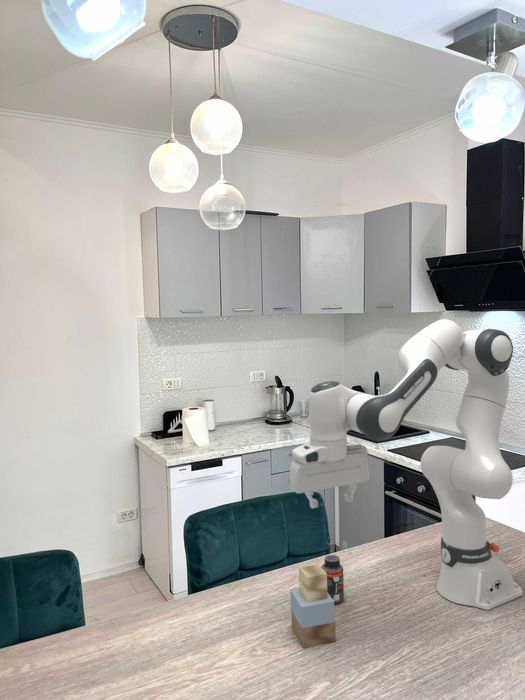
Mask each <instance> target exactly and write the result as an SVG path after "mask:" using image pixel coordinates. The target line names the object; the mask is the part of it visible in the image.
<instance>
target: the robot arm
mask: <svg viewBox="0 0 525 700" xmlns="http://www.w3.org/2000/svg"><path fill="white" fill-rule="evenodd" d="M513 353H514V344H513V342H512V339H511V336H509V334H508V333H506V332H505V331H504V330H501V329H500V330H499V329H495V328H487V329H469V330H466V331H463V330H462V328H461V326H459V325H458V323H456V322H455V321H453V320H451V319H447V318H445V319H439V320H436V321H434V322H432V323H430V324H429V325H427V326H426V327H424V328H423V329H421V330H420V331H418V332H417V333H416V334H414V335H413V336H412V337H410V339H408V340H407V341H406V342H405V343H404V344H403V345H402V346H401V348H400V349H399V351H398V356H397V360H398V365H399V367H400V369H401V371H402V372H403V374H404V377H402V379H401V380H400V381H399V382H398V383H397V384H396V385H395V386H394V387H393V389H391V390H390V392H388V393H386V394H381V395H380V394H379V395H374V394H370V393H366V392H362V391H357V390H354V389H351V388H348V387H346V386H345V385H343V384H342V383H341V382H340V381H334V380H333V381H332V380H330V381H329V380H328V381H324V382H320V383H318V384H316V385H314V386H313V387H312V388H311V389H310V392H309V397H308V421H309V423H310V428H311V429H310V435H309V440H308V441H307V442H304V444H301V445H299V446H297V447H295V448H293V449H292V451H291V456H292V458H293V460H292V461H291V463H290V466H289V487H290V489H292V491H294V492H295V493H296V494H302V493H304V494H305V496H306V498H307V499H308V501H309V507H310V508H311V509H317V508H319V505H318V504H319V501H318V500H317V499H316V498H313V495H314V491H320V490H327V489H333V488H337V487H341V486H349V487H348V490H347V492H344V493H343V494H344V500H345V502H347V503H348V502H353V501H354V494H355V491H356V490H357V487H358V484H360V483H366V482H368V481H369V479H370V477H371V474H370V467H369V462H368V449H367V446H365V445H362V443H361V444H360V443H357V444H354V445H353V444H352V445H348V441H347V440H348V439H347V435H348V434H347V432H348V431H354V432H357V433H360V434H363V435H364V436H366V437H367V438H370V439H371V440H374V441H384V440H388V439H390V438H392V437H393V436H394V435H395V434H396V433H397V432H398V430H399V429H400V427H401V425H402V423H403V421H404V420H405V418H406V417H407V415H408V413H409V412H410V411H411V410H412V409H413V407H414V406H415V405H416V404H417V403H418V402H419V401H420V400H421V398H422V397H423V396H425V394H426V393H427V391H428V390H429V389H430V388H431V387H432V385H433V384H434V383H435V381H436V379H437V378H438V372H440V370H441V369H443V367H446V368H447V369H450V370H454V371H466V372H467V379H468V380H467V384H466V387H465V388H464V392H463V395H462V398H461V401H460V402H461V403H460V405H459V408H458V412H457V416H456V418H455V425H456V428H457V429H458V431H459V432H460V433H461V434H462V435H464V438H465V449H462V448H458V447H453V446H450V445H432V446H429V447H427V448H426V450H425V451H423V454H422V455H421V458H420V470H421V473H422V474H423V476H425V478H426V479H427V480H428V482H429V483H430V485H431V486H432V488H433V491H434V493H435V494H436V498H437V499H438V503H439V507H440V511H441V525H442V526H441V529H442V533H441V535H442V536H441V537H440V556H441V563H440V571H439V576H438V579H437V584H436V586H435V588H436V591H437V592H438V594H439V595H440V596H441V597H443V598H444V599H446V600H449V601H450V602H453V603H456V604H459V605H464V606H471V607H475V608H479V609H482V610H484V611H485V610H486V611H488V610H489V611H490V610H492V609H494V608H496V607H499V606H501V605H503V604H506V603H508V602H510V601H513V600H515V599H517V598H520V597H522V596H523V595H524V591H523V589H522V587H521V586H520V585H519V584H518V583H517V582H516V581H514V577H513V574H512V571H511V569H510V568H509V567H508V565H506V564H505V563H504V562H503V561H501V560H500V559H499V558H497V557H496V556H495V555H494V554H492V552H493V553H496V554H497V553H498V552H499V551H500V546H499V545H497V544H495V542H491V543H490V542H489V541H488V540H487V518H486V517H487V516H486V514H485V512H484V510H483V508H482V507H481V506H480V505H478V504H477V502H476V501H475V499H474V498H473V496H474V497H477V498H481V499H487V500H501V499H503V498H505V496H507V495H508V494H509V493H510V491H511V489H512V485H513V483H514V482H513V474H512V470H511V468H510V467H509V465H508V463H506V461H505V459H504V458H503V456H502V453H501V449H500V441H499V439H500V438H499V437H500V429H501V425H502V421H503V417H504V414H505V410H506V406H507V401H508V397H509V389H510V376H509V373H508V372H507V370H508V368H509V367H510V366H511V361H512V358H513V355H514V354H513ZM491 551H492V552H491Z"/></svg>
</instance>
